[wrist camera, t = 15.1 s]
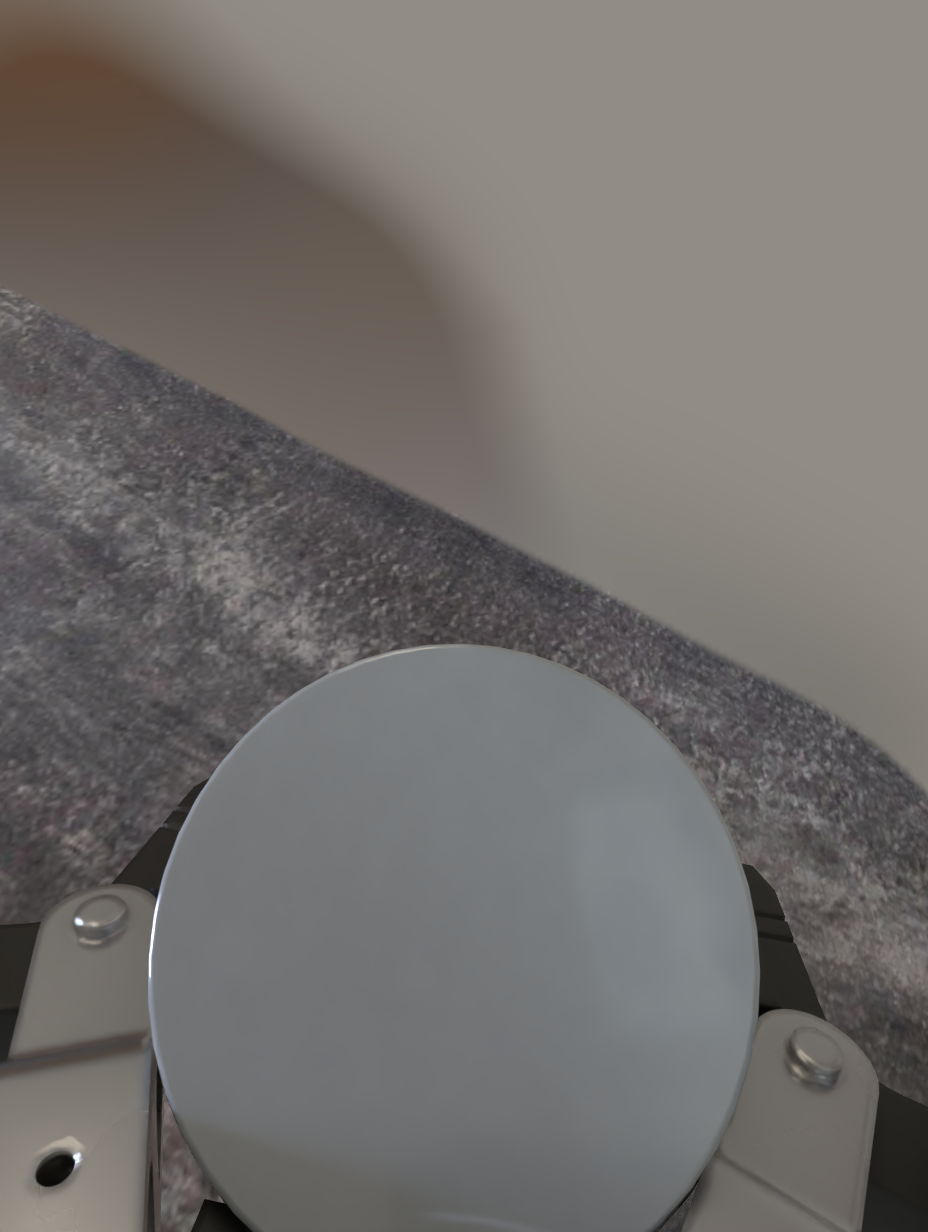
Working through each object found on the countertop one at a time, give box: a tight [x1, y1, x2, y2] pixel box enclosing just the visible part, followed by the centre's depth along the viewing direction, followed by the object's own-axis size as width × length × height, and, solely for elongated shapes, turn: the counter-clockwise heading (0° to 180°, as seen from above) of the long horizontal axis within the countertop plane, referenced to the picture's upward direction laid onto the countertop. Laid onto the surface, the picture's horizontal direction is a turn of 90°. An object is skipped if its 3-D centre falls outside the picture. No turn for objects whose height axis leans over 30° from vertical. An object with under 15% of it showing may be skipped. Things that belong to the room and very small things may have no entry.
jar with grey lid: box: [148, 644, 760, 1232], centre depth 11 cm, size 6×6×10 cm
